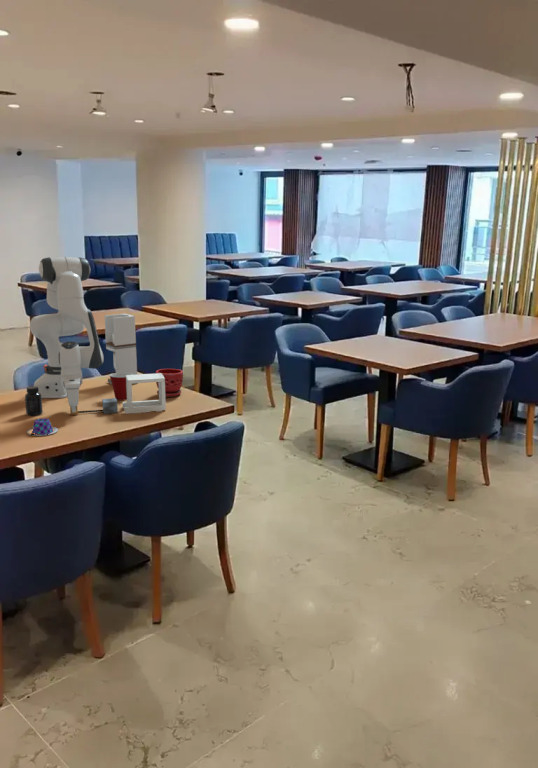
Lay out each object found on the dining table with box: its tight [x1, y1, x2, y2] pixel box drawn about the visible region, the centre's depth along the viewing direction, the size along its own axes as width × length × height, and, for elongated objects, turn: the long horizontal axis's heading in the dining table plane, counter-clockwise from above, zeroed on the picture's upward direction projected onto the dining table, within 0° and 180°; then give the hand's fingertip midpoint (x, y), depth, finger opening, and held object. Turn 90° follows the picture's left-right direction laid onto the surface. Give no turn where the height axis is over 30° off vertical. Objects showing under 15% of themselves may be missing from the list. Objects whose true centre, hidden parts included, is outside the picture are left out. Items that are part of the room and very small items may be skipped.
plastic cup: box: [108, 372, 133, 401], centre depth 327 cm, size 11×11×12 cm
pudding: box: [26, 417, 59, 437], centre depth 278 cm, size 12×12×5 cm
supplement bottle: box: [24, 385, 43, 417], centre depth 301 cm, size 7×7×12 cm
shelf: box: [122, 372, 167, 415], centre depth 309 cm, size 18×10×15 cm, turn 107°
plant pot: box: [155, 368, 184, 398], centre depth 334 cm, size 13×13×12 cm
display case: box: [104, 313, 138, 385], centre depth 352 cm, size 11×11×35 cm
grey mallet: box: [69, 397, 119, 416], centre depth 304 cm, size 20×6×5 cm, turn 107°
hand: (73, 410), depth 302 cm, fingers closed on grey mallet, 3 cm apart
